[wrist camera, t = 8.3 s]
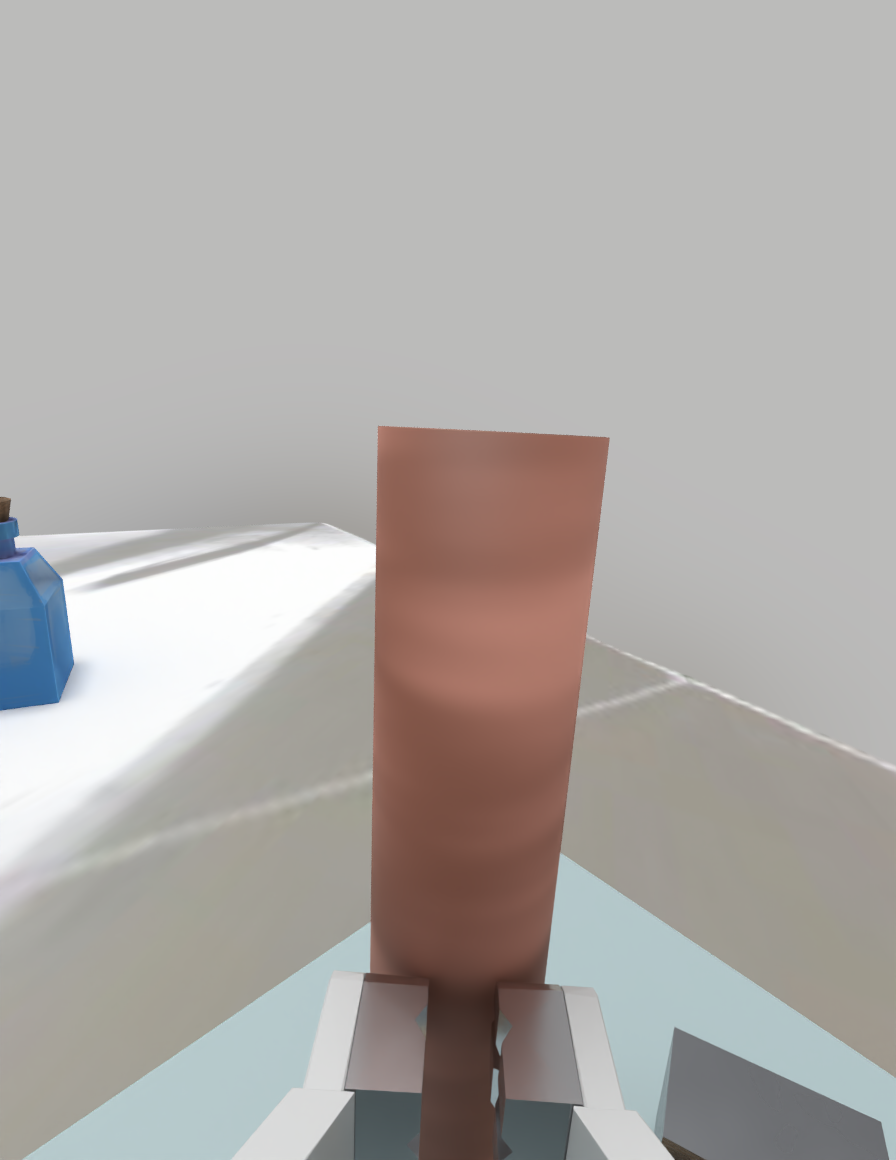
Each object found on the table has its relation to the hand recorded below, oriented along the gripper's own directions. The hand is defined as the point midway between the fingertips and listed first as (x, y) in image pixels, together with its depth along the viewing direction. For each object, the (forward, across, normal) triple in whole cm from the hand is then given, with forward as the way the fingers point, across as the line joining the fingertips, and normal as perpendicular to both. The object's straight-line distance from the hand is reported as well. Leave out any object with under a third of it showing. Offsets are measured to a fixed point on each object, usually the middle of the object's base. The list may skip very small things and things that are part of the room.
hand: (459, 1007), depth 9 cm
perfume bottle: (+26, +28, +9) cm, 39 cm away
